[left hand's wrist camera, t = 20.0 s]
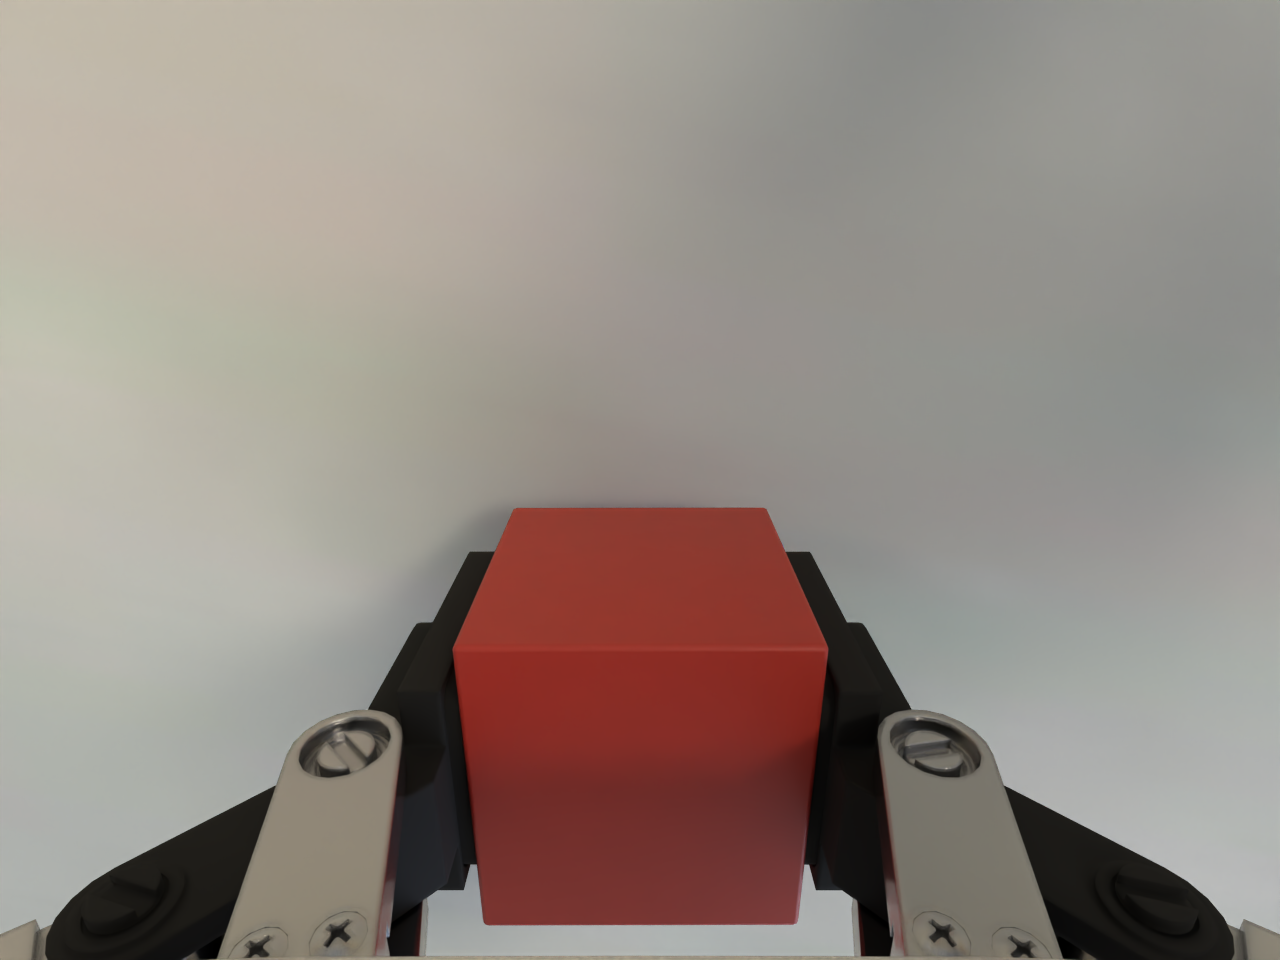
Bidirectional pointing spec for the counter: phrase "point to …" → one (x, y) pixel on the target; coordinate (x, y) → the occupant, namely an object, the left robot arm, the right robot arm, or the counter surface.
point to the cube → (640, 719)
